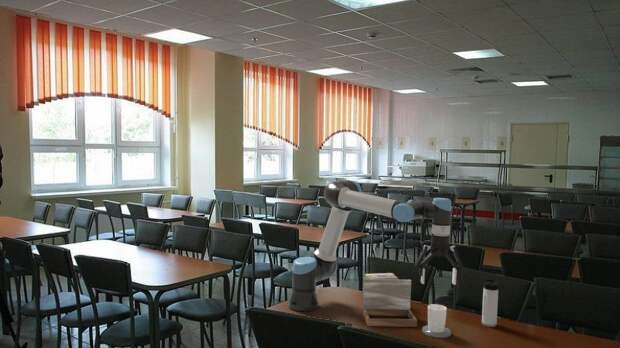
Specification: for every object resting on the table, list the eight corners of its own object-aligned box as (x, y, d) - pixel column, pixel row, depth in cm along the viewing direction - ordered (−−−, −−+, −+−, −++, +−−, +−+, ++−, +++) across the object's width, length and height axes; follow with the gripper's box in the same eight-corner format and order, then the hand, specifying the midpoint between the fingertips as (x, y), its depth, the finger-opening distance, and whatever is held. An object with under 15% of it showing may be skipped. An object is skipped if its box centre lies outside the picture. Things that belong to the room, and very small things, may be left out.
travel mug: (496, 322, 213) (498, 279, 212) (496, 328, 207) (499, 283, 206) (481, 320, 215) (483, 278, 214) (481, 325, 209) (484, 282, 208)
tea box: (391, 300, 241) (392, 272, 240) (398, 307, 231) (399, 277, 230) (363, 301, 239) (364, 272, 238) (368, 308, 229) (369, 278, 228)
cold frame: (362, 313, 221) (363, 278, 220) (408, 314, 221) (410, 279, 220) (367, 325, 206) (368, 288, 205) (416, 326, 206) (418, 289, 205)
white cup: (446, 334, 196) (447, 311, 195) (427, 332, 198) (428, 309, 197) (444, 327, 204) (445, 305, 203) (426, 325, 205) (427, 303, 205)
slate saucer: (419, 326, 206) (419, 324, 206) (445, 327, 207) (446, 324, 207) (426, 337, 195) (426, 335, 194) (455, 338, 195) (455, 336, 195)
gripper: (413, 235, 194) (411, 285, 195) (473, 237, 195) (470, 286, 196) (409, 232, 201) (407, 280, 203) (466, 233, 202) (463, 281, 204)
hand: (438, 283), depth 199 cm, fingers open, 13 cm apart
